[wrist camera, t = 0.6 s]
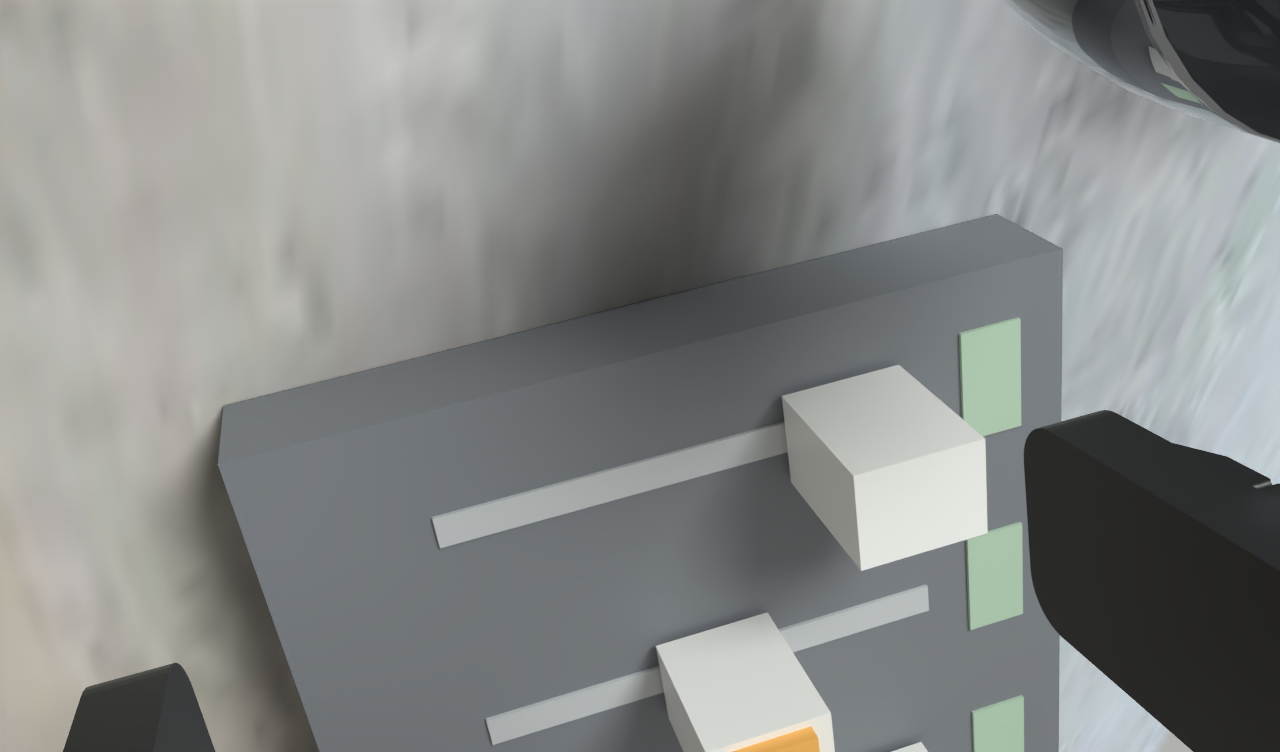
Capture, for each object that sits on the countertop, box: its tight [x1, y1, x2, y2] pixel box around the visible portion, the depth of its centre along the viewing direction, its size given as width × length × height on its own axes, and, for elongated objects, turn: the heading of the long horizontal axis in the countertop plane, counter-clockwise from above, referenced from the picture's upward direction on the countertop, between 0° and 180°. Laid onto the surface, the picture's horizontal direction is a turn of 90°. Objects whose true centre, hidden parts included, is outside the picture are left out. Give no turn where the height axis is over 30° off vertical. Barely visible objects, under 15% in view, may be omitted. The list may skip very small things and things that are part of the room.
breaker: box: [782, 365, 988, 571], centre depth 27 cm, size 2×3×4 cm
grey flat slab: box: [218, 214, 1063, 752], centre depth 33 cm, size 18×20×3 cm
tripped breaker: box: [656, 612, 835, 752], centre depth 29 cm, size 2×3×4 cm
